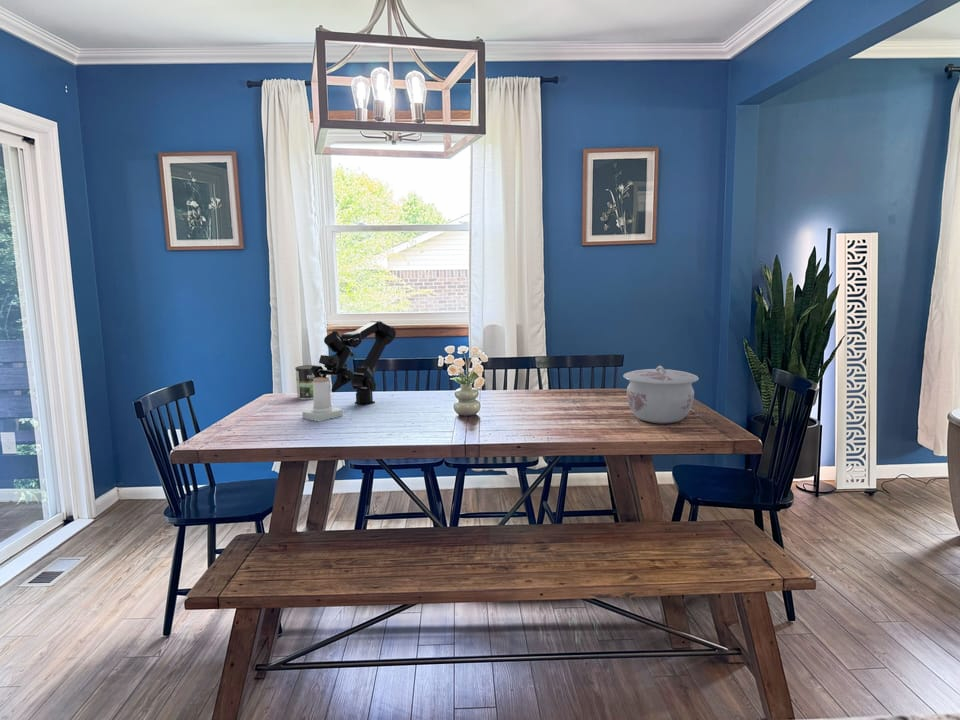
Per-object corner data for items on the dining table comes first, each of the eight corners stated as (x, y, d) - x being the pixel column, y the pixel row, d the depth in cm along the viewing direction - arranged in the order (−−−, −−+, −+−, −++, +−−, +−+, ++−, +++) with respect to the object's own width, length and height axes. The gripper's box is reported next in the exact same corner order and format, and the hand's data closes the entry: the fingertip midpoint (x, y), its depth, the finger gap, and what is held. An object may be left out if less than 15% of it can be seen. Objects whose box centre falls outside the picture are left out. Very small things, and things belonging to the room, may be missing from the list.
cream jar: (317, 408, 256) (315, 376, 254) (335, 408, 255) (333, 376, 253) (310, 412, 249) (308, 380, 247) (328, 413, 248) (326, 380, 246)
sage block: (327, 412, 260) (327, 406, 259) (343, 415, 253) (342, 409, 253) (302, 417, 251) (302, 411, 250) (317, 421, 244) (317, 415, 244)
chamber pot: (675, 433, 222) (677, 374, 218) (608, 420, 240) (609, 366, 237) (710, 418, 241) (712, 364, 238) (645, 407, 260) (647, 357, 257)
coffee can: (325, 396, 290) (323, 366, 288) (306, 400, 282) (304, 369, 279) (310, 394, 296) (309, 364, 294) (292, 398, 288) (290, 367, 286)
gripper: (312, 345, 257) (294, 377, 250) (348, 348, 249) (330, 381, 241) (326, 362, 266) (309, 393, 258) (361, 364, 257) (345, 397, 249)
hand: (323, 390), depth 251 cm, fingers open, 9 cm apart
